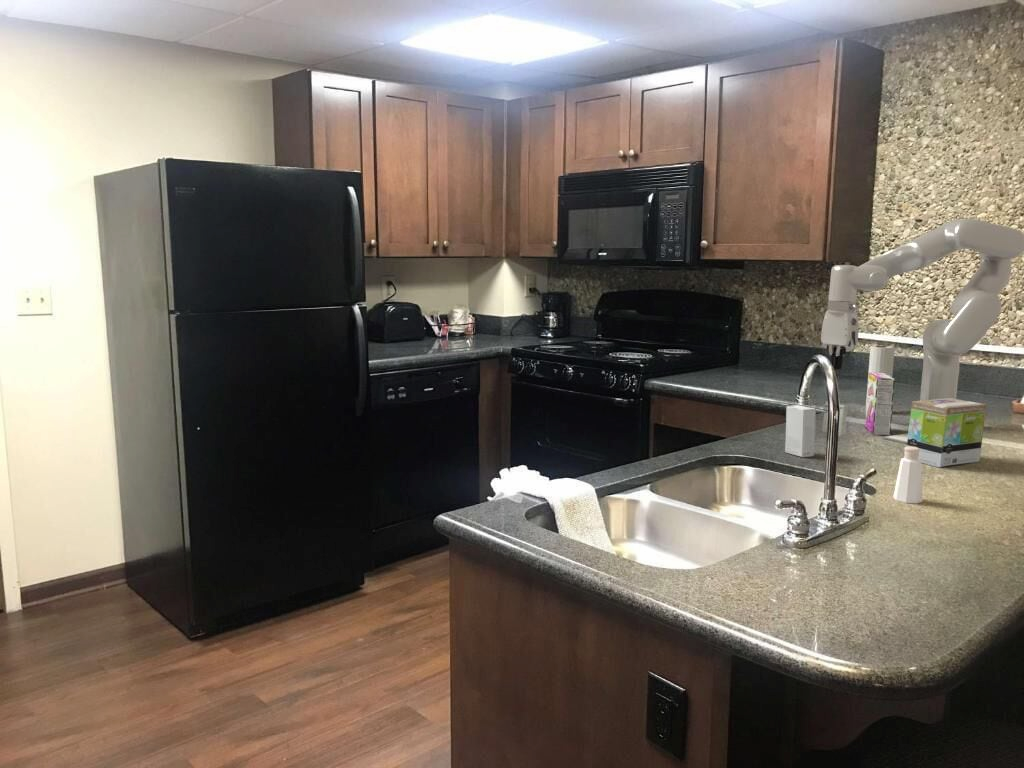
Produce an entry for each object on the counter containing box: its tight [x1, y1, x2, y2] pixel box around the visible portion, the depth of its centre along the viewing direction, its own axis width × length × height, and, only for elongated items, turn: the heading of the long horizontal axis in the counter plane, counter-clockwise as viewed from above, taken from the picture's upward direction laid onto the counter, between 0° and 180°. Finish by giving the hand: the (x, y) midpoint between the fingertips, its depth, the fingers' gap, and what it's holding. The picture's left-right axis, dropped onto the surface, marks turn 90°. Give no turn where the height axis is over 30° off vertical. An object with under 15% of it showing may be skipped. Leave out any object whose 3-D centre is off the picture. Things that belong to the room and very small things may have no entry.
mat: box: [881, 432, 908, 444], centre depth 221 cm, size 13×16×1 cm
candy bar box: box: [864, 372, 896, 437], centre depth 233 cm, size 11×5×16 cm, turn 168°
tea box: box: [906, 398, 987, 468], centre depth 200 cm, size 15×10×15 cm
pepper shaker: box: [893, 445, 923, 505], centre depth 167 cm, size 5×5×11 cm
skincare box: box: [784, 404, 817, 458], centre depth 205 cm, size 6×4×12 cm
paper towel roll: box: [865, 345, 896, 404], centre depth 263 cm, size 7×6×21 cm
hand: (835, 368), depth 244 cm, fingers closed
